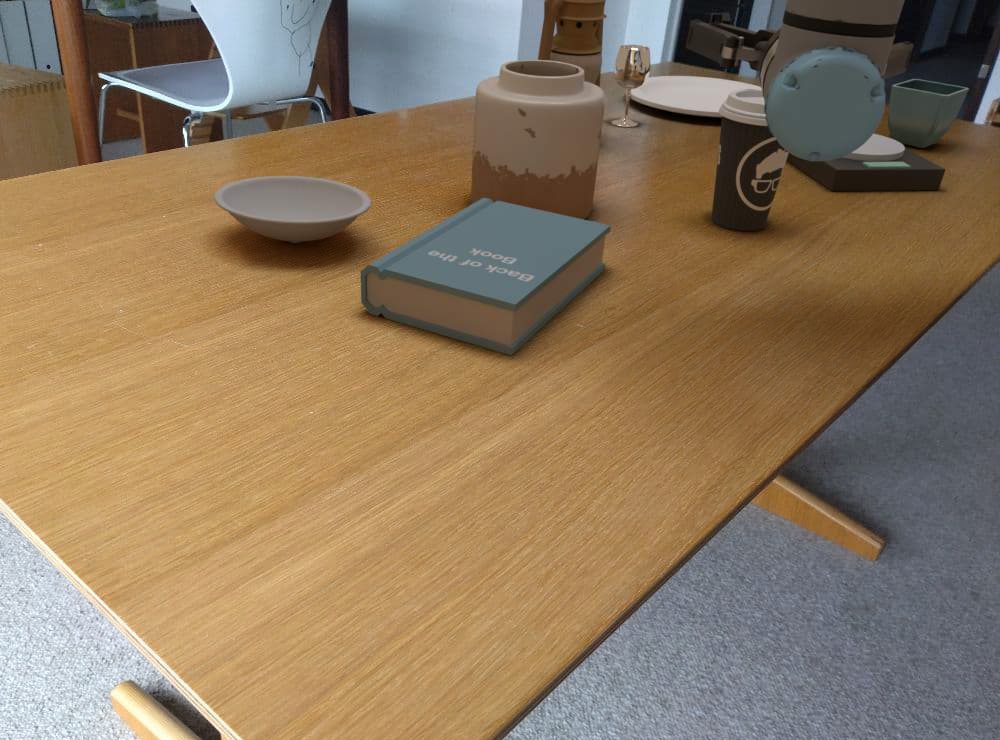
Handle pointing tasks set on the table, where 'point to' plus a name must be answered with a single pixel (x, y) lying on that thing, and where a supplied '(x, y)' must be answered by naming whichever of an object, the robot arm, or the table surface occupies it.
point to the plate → (687, 94)
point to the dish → (292, 206)
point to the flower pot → (923, 111)
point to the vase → (538, 137)
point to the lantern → (574, 35)
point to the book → (487, 273)
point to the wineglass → (631, 74)
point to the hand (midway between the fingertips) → (790, 34)
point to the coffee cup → (746, 163)
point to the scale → (874, 168)
